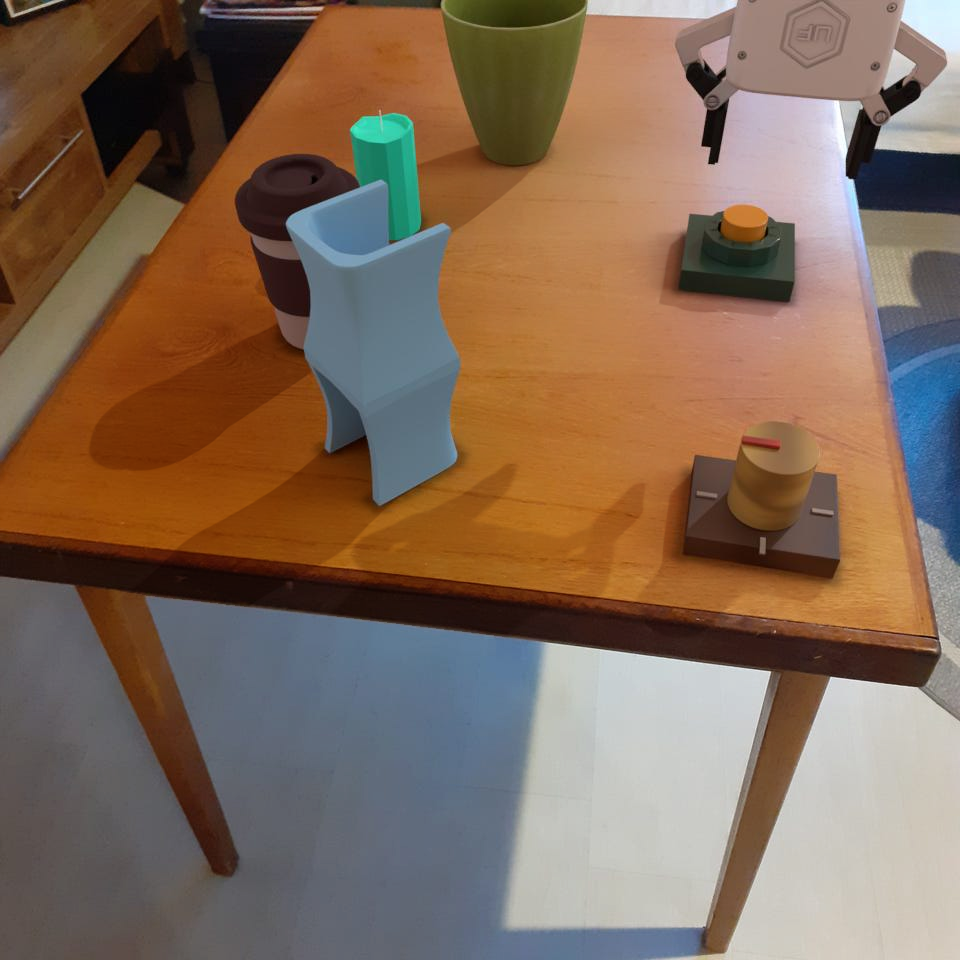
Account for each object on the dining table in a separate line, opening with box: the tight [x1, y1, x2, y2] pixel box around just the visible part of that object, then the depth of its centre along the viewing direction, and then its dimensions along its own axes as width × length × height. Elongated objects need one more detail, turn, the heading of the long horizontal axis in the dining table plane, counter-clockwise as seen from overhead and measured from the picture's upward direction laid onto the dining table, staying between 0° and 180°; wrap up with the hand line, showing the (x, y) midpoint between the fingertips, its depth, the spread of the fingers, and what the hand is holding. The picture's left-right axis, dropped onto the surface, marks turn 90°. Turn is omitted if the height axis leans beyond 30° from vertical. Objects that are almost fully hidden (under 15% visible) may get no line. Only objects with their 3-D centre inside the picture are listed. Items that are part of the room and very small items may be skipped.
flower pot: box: [440, 0, 589, 166], centre depth 99 cm, size 15×15×16 cm
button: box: [720, 204, 769, 243], centre depth 84 cm, size 4×4×2 cm
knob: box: [727, 420, 821, 531], centre depth 62 cm, size 5×5×6 cm
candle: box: [349, 109, 422, 242], centre depth 90 cm, size 6×6×12 cm
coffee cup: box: [234, 153, 360, 351], centre depth 77 cm, size 10×10×15 cm
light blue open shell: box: [286, 180, 461, 507], centre depth 64 cm, size 8×8×20 cm
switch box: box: [677, 210, 796, 303], centre depth 86 cm, size 10×10×4 cm
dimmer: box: [682, 454, 841, 579], centre depth 64 cm, size 10×9×2 cm
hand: (781, 162), depth 67 cm, fingers open, 9 cm apart
